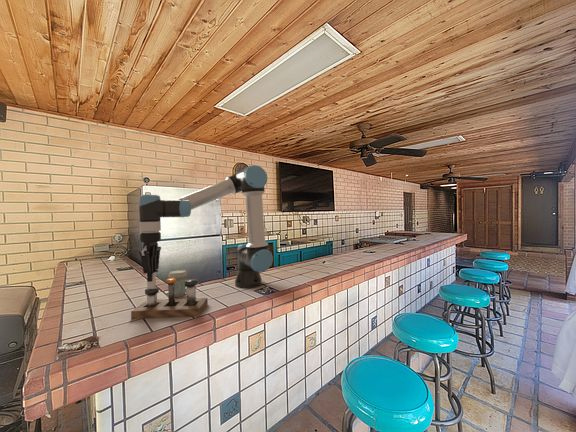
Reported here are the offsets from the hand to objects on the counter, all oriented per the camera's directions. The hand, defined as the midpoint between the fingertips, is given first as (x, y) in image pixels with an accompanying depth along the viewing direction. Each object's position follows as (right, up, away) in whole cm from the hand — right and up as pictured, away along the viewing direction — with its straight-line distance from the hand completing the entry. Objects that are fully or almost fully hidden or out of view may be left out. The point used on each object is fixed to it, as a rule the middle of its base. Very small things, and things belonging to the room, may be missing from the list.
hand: (151, 288), depth 99 cm
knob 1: (0, -10, 0) cm, 10 cm away
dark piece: (+8, -7, +1) cm, 11 cm away
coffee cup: (+2, -10, +19) cm, 22 cm away
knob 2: (+16, -7, +1) cm, 17 cm away
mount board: (+8, -10, +1) cm, 13 cm away
